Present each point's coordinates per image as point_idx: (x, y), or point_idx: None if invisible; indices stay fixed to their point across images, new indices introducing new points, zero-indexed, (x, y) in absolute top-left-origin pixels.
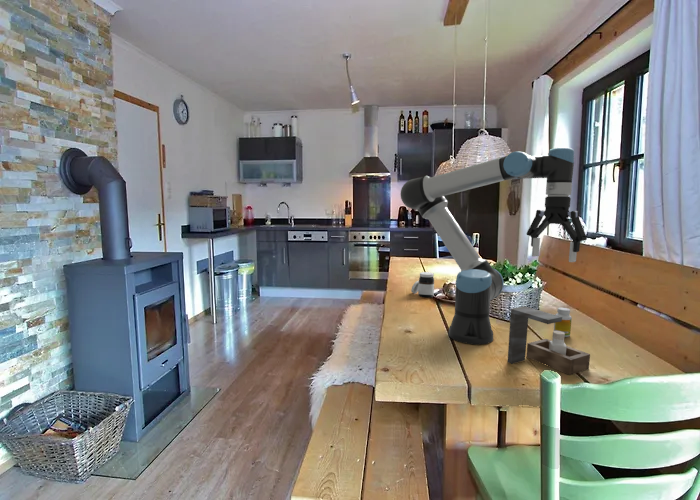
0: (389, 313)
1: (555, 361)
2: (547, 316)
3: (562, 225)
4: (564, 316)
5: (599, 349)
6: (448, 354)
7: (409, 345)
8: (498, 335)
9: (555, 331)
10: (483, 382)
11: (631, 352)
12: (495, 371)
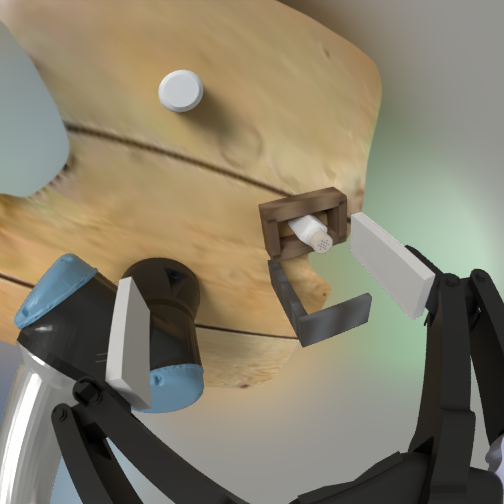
0: None
1: None
2: (358, 315)
3: (415, 435)
4: (196, 100)
5: (281, 86)
6: (224, 338)
7: None
8: (155, 239)
9: (317, 247)
10: None
11: (312, 44)
12: None
